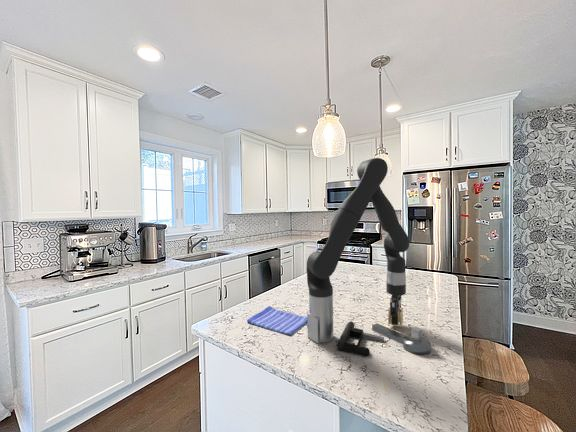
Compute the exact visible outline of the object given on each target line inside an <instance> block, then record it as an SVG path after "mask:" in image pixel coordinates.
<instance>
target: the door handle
mask: <svg viewBox="0 0 576 432" xmlns="http://www.w3.org/2000/svg"><path fill="white" fill-rule="evenodd" d="M350 338H355V339H358V341H357V344H356V343H355V342H348V341H349V340H350ZM362 339H364V340H368V341H374V342H378V341H379V342H380V343H385V336H383V335H382V336H381V335H377V334H372V333H368V332H364V329H361V328H357V327H355V322H353V321H350V320H349V321H348V322H347V324H345V327H344V329H343V331H342V333H341V335H340V337H339V339H338V341H335V342H336V344H335V345H336V349H337V350H338V351H344V352H348V353H352V354H356V355H360V356H364V357H368V356H370V353H371V350H370V348H368V347H365V346H361V343H362Z"/></svg>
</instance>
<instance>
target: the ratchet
mask: <svg viewBox="0 0 576 432" xmlns="http://www.w3.org/2000/svg"><path fill="white" fill-rule="evenodd" d="M371 330H372V331H374V332H375V333H377V334H380V335H382V336H383V337H386V338H388V339H391V340H392V341H395V342H396V343H399V344H401V345H402V347H403V349H404V350H406V351H407V352H408V353H410V354H413V355H419V356H426V355H429V354H431V352H432V343H431V341H430V340H429V339H428V338H425V337H423V329H422V328H421V327H418V326H414V327H412V328H411V329H410V334H407V335H405V334H404V333H401V332H399V331H396V330H393V328H389V327H388V326H384V325H382V324H380V323H375V324H372V325H371Z"/></svg>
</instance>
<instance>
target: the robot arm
mask: <svg viewBox="0 0 576 432" xmlns="http://www.w3.org/2000/svg"><path fill="white" fill-rule="evenodd" d="M388 171H389V170H388V164H387V161H386V160H385V159H383V158H381V157H374V158H369V159H367V160H363V161H362V162H360V163H359V165H357V170H356V173H357V174H356V175H357V178H358V180H359V183H358V185H357V186H356V187H355V189H354V190H352V192H351V193H350V194H349V195H348V196H347V197H346V198H345V199H344V200H343V202H342V203H341V204H340V206H339V207H338V208H337V211H336V213H335V214H334V216H333V219H332V222H331V224H330V230H329V234H328V238H327V240H326V242H325V244H324V246H323V248H321V251H320V250H319V251H318V250H317V251H314V252H312V253H310V254H309V255H308V258H307V260H306V280H307V281H306V282H307V286H308V309H309V310H308V313H306V317H307V325H306V326H307V328H306V329H307V338H308V339H310V340H311V341H313V342H314V343H316V344H321V343H329V342H332V341H333V339H334V287H333V285H332V283H331V278H330V277H331V276H332V275H333V274H334V273H335V271H336V268H337V266H338V264H339V262H340V259H341V256H342V254H343V252H344V249H345V248H346V246H347V244H348V242H349V240H350V238H351V237H352V235H353V233H354V232H355V230H356V228H357V227H358V225H359V222H360V221H361V219H362V217H363V214H364V213H365V211H366V209H367V208H368V205H369V204H370V202H371V204H372V206H373V208H374V210H375V213H376V216H377V218H378V221H379V224H380V227H381V229H382V230H383V231H384V232H386V233H387V234H386V235H385V237H384V239H383V248H384V253H385V257H386V262H387V263H386V266H387V267H386V283H385V285H386V290H385V291H386V292H387V294H389V295H391V297H390V299H389V308H390V315H391V316H392V324H393V325H392V326H394V325H397V324H398V311H399V310H401V308H402V300H403V299H402V296H404V295H406V294H407V275H406V259H405V257H403V256H402V255H401V254H400V253H404V252H407V251H408V249H409V247H410V239H409V236H408V235H407V232H406V231H405V230H404V228H403V226H402V225H401V224H400V222H399V219H398V215H397V213H396V209H395V208H394V206H393V204H392V203H391V201H390V200H389V198H388V197H387V196H386V195H385V193H384V192H383V190H382V188H381V186H380V185H381V184H382V183H383V182H384V180H385V178H386V176H387V174H388ZM397 307H398V308H397ZM393 311H395V313H393Z"/></svg>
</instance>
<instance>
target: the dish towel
mask: <svg viewBox="0 0 576 432" xmlns="http://www.w3.org/2000/svg"><path fill="white" fill-rule="evenodd" d="M246 321H247V323H248V324H251V325H254V326H255V327H256V326H257V327H259V328H263V329H267V330H269V331H273V332H276V333H279V334H283V335H288V336H292V335H294V334H295V333H296V332H298V331H299V330H300V329H302V328H303V327H304V326H305V325H306V324H307V315H306V316H305V315H303V316H302V315H300V314H296V313H295V314H294V313H291V312H288V311H284V310H280V309H276V308H274V307H273V306H271V305H270V306H267V307H265V308H264V309H263V310H262V311H259V312H258V313H256V314H254V315H252V316H250V317H249V318H248V319H246Z"/></svg>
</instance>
